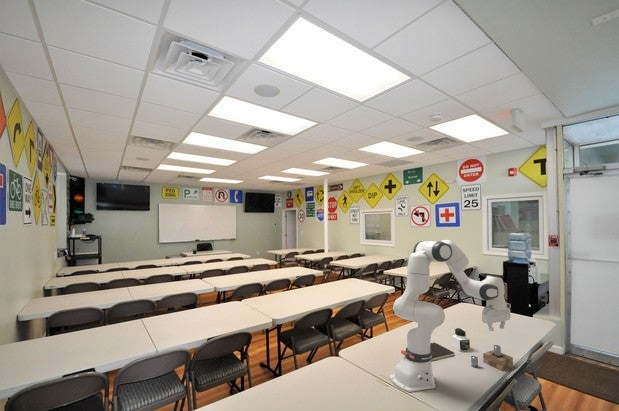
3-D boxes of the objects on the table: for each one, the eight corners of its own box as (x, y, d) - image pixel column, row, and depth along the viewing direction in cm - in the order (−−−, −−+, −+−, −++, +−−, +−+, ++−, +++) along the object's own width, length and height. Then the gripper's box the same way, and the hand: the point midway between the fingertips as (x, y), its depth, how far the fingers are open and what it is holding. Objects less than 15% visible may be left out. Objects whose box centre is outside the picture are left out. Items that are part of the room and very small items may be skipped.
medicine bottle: (460, 351, 169) (459, 331, 170) (452, 346, 176) (451, 327, 177) (470, 350, 170) (469, 330, 171) (461, 345, 177) (461, 326, 178)
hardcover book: (454, 356, 164) (454, 352, 164) (425, 363, 155) (425, 359, 156) (433, 345, 179) (433, 341, 179) (405, 351, 170) (405, 347, 170)
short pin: (475, 368, 149) (475, 359, 150) (470, 365, 152) (469, 356, 152) (479, 367, 150) (479, 357, 151) (473, 364, 153) (473, 355, 154)
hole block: (501, 370, 147) (501, 361, 147) (483, 362, 156) (483, 353, 156) (513, 366, 151) (512, 357, 151) (494, 358, 160) (494, 349, 160)
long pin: (499, 366, 151) (498, 347, 152) (493, 363, 154) (492, 345, 155) (502, 365, 153) (501, 346, 153) (496, 362, 156) (495, 344, 156)
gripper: (489, 308, 148) (490, 334, 147) (512, 304, 157) (513, 329, 156) (478, 304, 154) (479, 330, 153) (501, 301, 162) (502, 325, 161)
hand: (496, 329), depth 154 cm, fingers open, 8 cm apart
